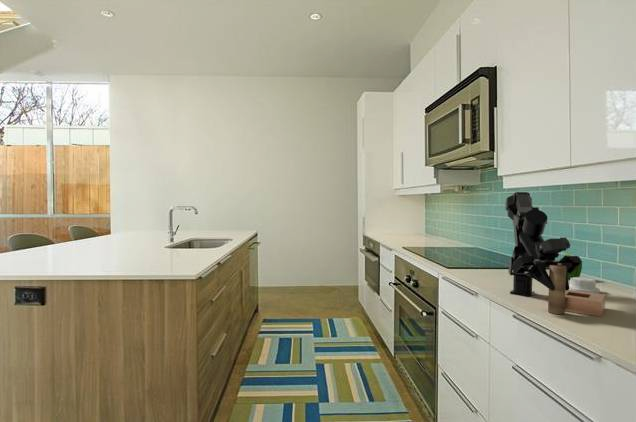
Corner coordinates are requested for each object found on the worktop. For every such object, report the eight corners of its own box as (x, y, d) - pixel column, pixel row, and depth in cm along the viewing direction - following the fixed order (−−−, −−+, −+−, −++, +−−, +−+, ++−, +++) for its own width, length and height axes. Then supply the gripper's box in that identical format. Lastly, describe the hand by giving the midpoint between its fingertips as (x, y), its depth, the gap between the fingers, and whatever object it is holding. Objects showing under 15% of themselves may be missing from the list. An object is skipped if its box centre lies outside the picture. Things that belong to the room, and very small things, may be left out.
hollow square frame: (557, 301, 127) (558, 288, 127) (604, 308, 119) (605, 294, 119) (550, 308, 117) (551, 295, 117) (601, 316, 110) (601, 302, 110)
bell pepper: (584, 281, 160) (584, 256, 160) (560, 279, 163) (560, 255, 163) (578, 277, 168) (579, 253, 168) (556, 276, 171) (556, 252, 171)
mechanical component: (586, 288, 148) (559, 288, 148) (586, 276, 148) (560, 275, 148) (606, 294, 138) (578, 294, 138) (607, 282, 138) (578, 281, 138)
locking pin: (549, 309, 116) (551, 264, 116) (565, 312, 113) (567, 265, 113) (546, 312, 113) (548, 265, 112) (563, 315, 110) (565, 267, 110)
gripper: (519, 227, 115) (544, 273, 104) (578, 227, 118) (609, 272, 107) (501, 251, 123) (524, 296, 112) (557, 251, 126) (584, 295, 115)
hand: (560, 289), depth 112 cm, fingers closed on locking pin, 4 cm apart
